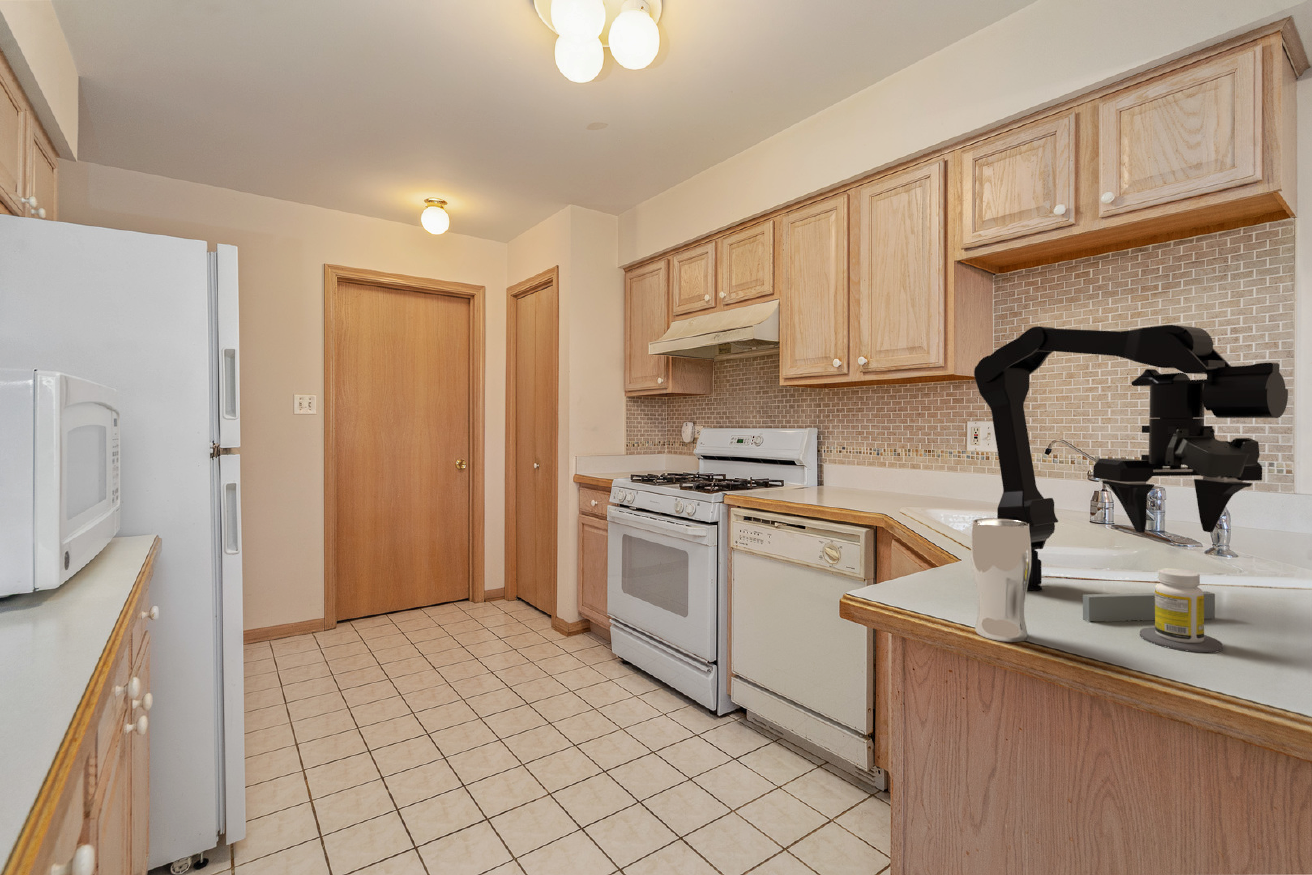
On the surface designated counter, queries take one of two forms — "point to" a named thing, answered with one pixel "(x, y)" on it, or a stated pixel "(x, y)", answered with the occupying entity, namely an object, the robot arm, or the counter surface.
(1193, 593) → the supplement bottle
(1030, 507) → the robot arm
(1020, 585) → the beer glass
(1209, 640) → the coaster
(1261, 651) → the counter surface
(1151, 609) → the gray rectangular bar
